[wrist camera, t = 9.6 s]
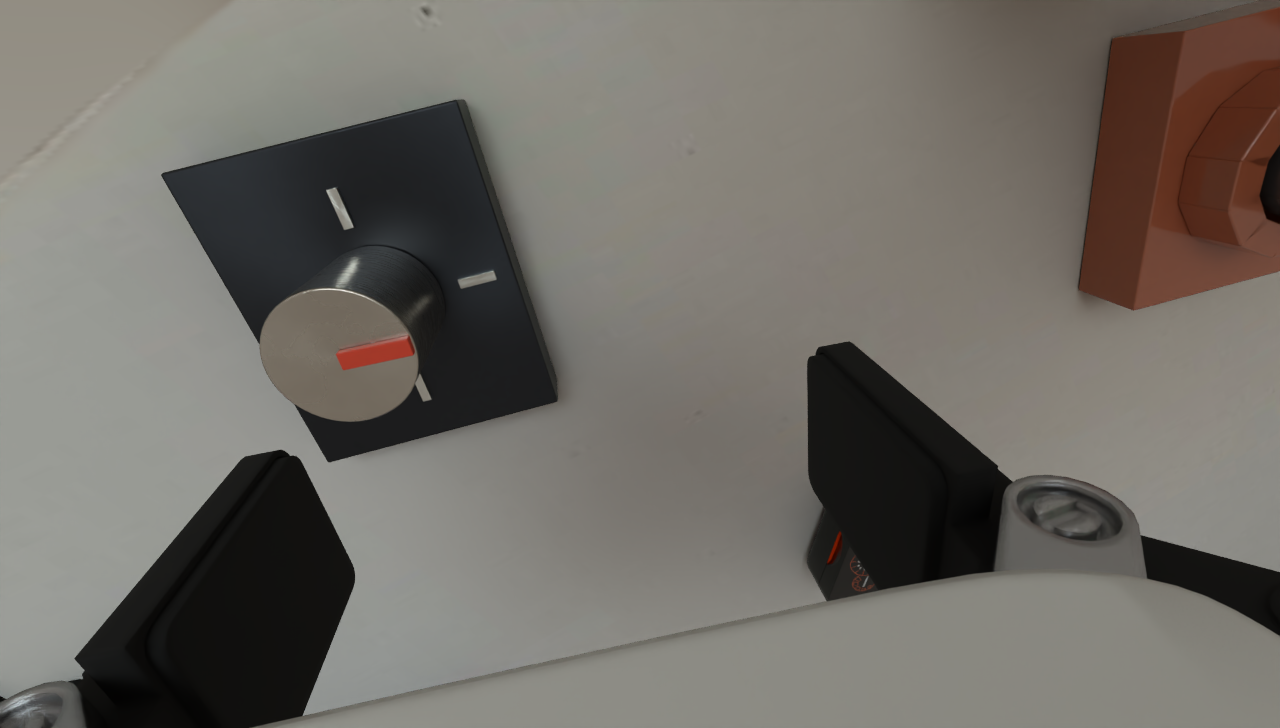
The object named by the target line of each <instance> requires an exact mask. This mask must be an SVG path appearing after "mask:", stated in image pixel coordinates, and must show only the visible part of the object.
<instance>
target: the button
mask: <svg viewBox="0 0 1280 728" xmlns="http://www.w3.org/2000/svg"><path fill="white" fill-rule="evenodd" d="M1260 199H1261V202H1262V205H1263V207H1264V208H1265V209H1266V210H1267V211H1268V212H1269V213H1271V214H1273V215H1275V216H1279V217H1280V146H1279V147H1278V148H1277V150H1276V151H1275V153H1274V154H1273V156H1272V157H1271V159H1270V160H1269V162H1268V165H1267V169H1266V173H1265V177H1264V180H1263V184H1262V188H1261V192H1260Z"/></svg>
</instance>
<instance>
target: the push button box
mask: <svg viewBox="0 0 1280 728" xmlns="http://www.w3.org/2000/svg"><path fill="white" fill-rule="evenodd" d="M1279 146H1280V0H1259V1H1256V2H1252V3H1248V4H1244V5H1240V6H1236V7H1232V8H1228V9H1224V10H1220V11H1216V12H1212V13H1209V14H1205V15H1201V16H1197V17H1193V18H1189V19H1185V20H1181V21H1177V22H1173V23H1169V24H1165V25H1162V26H1158V27H1154V28H1150V29H1146V30H1142V31H1138V32H1134V33H1130V34H1126V35H1122V36H1118V37H1115V38H1113V39H1112V44H1111V52H1110V59H1109V67H1108V74H1107V82H1106V89H1105V96H1104V104H1103V111H1102V119H1101V126H1100V134H1099V141H1098V149H1097V156H1096V164H1095V171H1094V179H1093V186H1092V194H1091V201H1090V208H1089V216H1088V223H1087V231H1086V238H1085V246H1084V253H1083V261H1082V268H1081V276H1080V283H1079V290H1080V291H1083V292H1085V293H1088V294H1091V295H1093V296H1096V297H1099V298H1101V299H1104V300H1107V301H1109V302H1112V303H1115V304H1117V305H1120V306H1123V307H1125V308H1128V309H1131V310H1138V309H1141V308H1145V307H1149V306H1153V305H1156V304H1160V303H1164V302H1167V301H1171V300H1175V299H1178V298H1182V297H1186V296H1190V295H1193V294H1197V293H1201V292H1204V291H1208V290H1212V289H1216V288H1219V287H1223V286H1227V285H1230V284H1234V283H1238V282H1241V281H1245V280H1249V279H1253V278H1256V277H1260V276H1264V275H1267V274H1271V273H1275V272H1278V271H1280V217H1279V216H1275V215H1273V214H1271V213H1269V212H1268V211H1267V210H1266V209H1265V208H1264V207H1263V205H1262V202H1261V199H1260V192H1261V188H1262V184H1263V180H1264V177H1265V173H1266V169H1267V165H1268V162H1269V160H1270V159H1271V157H1272V156H1273V154H1274V153H1275V151H1276V150H1277V148H1278V147H1279Z"/></svg>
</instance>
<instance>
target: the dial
mask: <svg viewBox="0 0 1280 728" xmlns="http://www.w3.org/2000/svg"><path fill="white" fill-rule="evenodd" d="M444 316H445V302H444V297H443V293H442V290H441V288H440V285H439V284H438V282H437V280H436V278H435V277H434V276H433V274H432V273H431V272H430V271H429V270H428V269H427V267H426V266H425V265H423V264H422V263H421V262H420V261H418V260H417V259H415V258H414V257H412V256H411V255H409V254H407V253H405V252H403V251H400V250H397V249H394V248H390V247H384V246H365V247H359V248H356V249H353V250H350V251H348V252H346V253H344V254H343V255H341V256H339V257H338V258H337V259H335V260H334V261H333V262H332V263H330V264H329V265H328V266H326V267H325V268H324V269H323V270H321V271H320V272H319V273H317V274H316V275H315V276H314V277H312V278H311V279H310V280H309V281H307V282H306V283H305V284H303V285H302V286H301V287H300V288H298V289H297V290H296V291H294V292H293V293H292V294H291V295H289V296H288V297H287V298H285V299H284V300H283V301H282V302H280V303H279V304H278V305H277V306H276V307H275V308H274V309H273V310H272V311H271V313H270V314H269V315H268V317H267V319H266V320H265V322H264V325H263V328H262V331H261V336H260V354H261V359H262V363H263V366H264V368H265V371H266V373H267V375H268V377H269V378H270V380H271V381H272V383H273V384H274V385H275V387H276V388H277V389H278V390H279V391H280V392H281V393H282V394H283V395H284V396H285V397H286V398H287V399H288V400H290V401H291V402H292V403H293V404H295V405H297V406H298V407H300V408H301V409H303V410H305V411H307V412H309V413H311V414H314V415H317V416H319V417H322V418H326V419H330V420H336V421H346V422H355V421H364V420H370V419H373V418H377V417H380V416H382V415H384V414H387V413H388V412H390V411H392V410H394V409H395V408H396V407H398V406H399V405H400V404H401V403H402V402H403V401H404V400H405V399H406V398H407V397H408V395H409V394H410V393H411V391H412V389H413V387H414V385H415V383H416V381H417V379H418V377H419V374H420V372H421V370H422V368H423V366H424V364H425V361H426V359H427V357H428V355H429V353H430V351H431V349H432V346H433V344H434V342H435V340H436V338H437V336H438V333H439V331H440V329H441V327H442V324H443V321H444Z"/></svg>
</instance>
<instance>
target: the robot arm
mask: <svg viewBox="0 0 1280 728" xmlns="http://www.w3.org/2000/svg"><path fill="white" fill-rule="evenodd" d="M807 384H808V473H809V479H810V483H811V486H812V488H813V490H814V492H815V494H816V495H817V497H818V498H819V500H820V501H821V503H822V504H823V506H824V508H825V509H826V511H827V512H828V514H829V515H830V517H831V518H832V520H833V521H834V523H835V524H836V526H837V527H838V529H839V531H840V532H841V534H842V535H843V537H844V538H845V540H846V541H847V543H848V544H849V546H850V547H851V549H852V550H853V552H854V554H855V555H856V557H857V558H858V560H859V561H860V563H861V564H862V566H863V567H864V569H865V570H866V572H867V573H868V575H869V577H870V578H871V580H872V581H873V583H874V584H875V586H876V587H877V589H878V590H879V591H875V592H870V593H865V594H861V595H856V596H851V597H846V598H841V599H836V600H831V601H826V602H821V603H816V604H812V605H807V606H802V607H798V608H793V609H788V610H783V611H779V612H774V613H769V614H765V615H760V616H755V617H751V618H746V619H741V620H737V621H732V622H727V623H723V624H718V625H713V626H709V627H704V628H699V629H695V630H690V631H685V632H680V633H676V634H671V635H666V636H662V637H657V638H652V639H648V640H643V641H639V642H634V643H629V644H625V645H620V646H616V647H611V648H606V649H602V650H597V651H593V652H588V653H584V654H579V655H574V656H570V657H565V658H561V659H556V660H552V661H547V662H542V663H538V664H533V665H529V666H524V667H520V668H515V669H511V670H506V671H502V672H497V673H493V674H488V675H484V676H479V677H474V678H470V679H465V680H461V681H456V682H452V683H447V684H443V685H438V686H434V687H429V688H425V689H420V690H416V691H411V692H407V693H403V694H398V695H394V696H389V697H385V698H380V699H376V700H372V701H367V702H363V703H358V704H354V705H349V706H345V707H341V708H336V709H332V710H327V711H323V712H318V713H314V714H310V715H305V716H302V715H303V713H304V710H305V708H306V705H307V703H308V700H309V698H310V695H311V693H312V690H313V688H314V685H315V683H316V680H317V678H318V675H319V673H320V670H321V668H322V665H323V663H324V660H325V658H326V655H327V653H328V650H329V648H330V645H331V643H332V640H333V637H334V635H335V632H336V630H337V627H338V625H339V622H340V620H341V617H342V615H343V612H344V610H345V607H346V605H347V602H348V600H349V597H350V595H351V592H352V590H353V587H354V583H355V571H354V567H353V564H352V562H351V560H350V558H349V556H348V554H347V552H346V550H345V548H344V546H343V544H342V542H341V540H340V538H339V536H338V534H337V532H336V530H335V528H334V526H333V524H332V522H331V520H330V518H329V516H328V514H327V512H326V510H325V508H324V506H323V504H322V502H321V500H320V498H319V496H318V494H317V492H316V490H315V488H314V486H313V484H312V482H311V480H310V478H309V476H308V474H307V472H306V470H305V468H304V466H303V464H302V462H301V460H300V459H299V458H298V457H297V456H290V455H289V454H288V453H287V452H285V451H283V450H277V451H272V452H266V453H261V454H256V455H251V456H246V457H244V458H243V459H242V460H240V462H239V463H238V464H237V465H236V466H235V468H234V469H233V470H232V471H231V472H230V474H229V475H228V476H227V477H226V478H225V480H224V481H223V482H222V483H221V484H220V485H219V487H218V488H217V489H216V490H215V491H214V493H213V494H212V495H211V496H210V497H209V499H208V500H207V501H206V502H205V503H204V505H203V506H202V507H201V508H200V509H199V511H198V512H197V513H196V514H195V515H194V516H193V518H192V519H191V520H190V521H189V522H188V524H187V525H186V526H185V527H184V528H183V530H182V531H181V532H180V533H179V534H178V536H177V537H176V538H175V539H174V540H173V542H172V543H171V544H170V545H169V546H168V548H167V549H166V550H165V551H164V552H163V553H162V555H161V556H160V557H159V558H158V559H157V561H156V562H155V563H154V564H153V565H152V567H151V568H150V569H149V570H148V571H147V573H146V574H145V575H144V576H143V577H142V579H141V580H140V581H139V582H138V583H137V584H136V586H135V587H134V588H133V589H132V590H131V592H130V593H129V594H128V595H127V596H126V598H125V599H124V600H123V601H122V602H121V604H120V605H119V606H118V607H117V608H116V610H115V611H114V612H113V613H112V614H111V616H110V617H109V618H108V619H107V620H106V621H105V623H104V624H103V625H102V626H101V627H100V629H99V630H98V631H97V632H96V633H95V635H94V636H93V637H92V638H91V639H90V641H89V642H88V643H87V644H86V645H85V647H84V648H83V649H82V650H81V651H80V652H79V654H78V655H77V656H76V657H75V658H74V659H75V660H76V661H77V662H78V663H79V664H80V665H81V667H82V668H83V669H84V670H85V671H86V672H87V674H86V675H85V677H84V678H83V679H82V680H81V682H80V683H79V684H78V686H77V687H76V686H75V685H74V683H69V682H65V681H56V682H49V683H43V684H41V685H38V686H35V687H32V688H29V689H27V690H24V691H22V692H20V693H18V694H16V695H14V696H12V697H10V698H8V699H6V700H4V701H2V702H0V728H1280V572H1277V571H1273V570H1269V569H1265V568H1262V567H1258V566H1254V565H1250V564H1247V563H1243V562H1239V561H1235V560H1232V559H1228V558H1224V557H1220V556H1217V555H1213V554H1209V553H1205V552H1202V551H1198V550H1194V549H1190V548H1187V547H1183V546H1179V545H1175V544H1172V543H1168V542H1164V541H1160V540H1157V539H1153V538H1149V537H1145V536H1142V535H1140V529H1139V524H1138V522H1137V520H1136V518H1135V515H1134V513H1133V512H1132V511H1131V510H1130V509H1129V508H1128V507H1127V506H1126V505H1125V504H1124V503H1123V502H1122V501H1121V500H1119V499H1118V498H1116V497H1115V496H1113V495H1112V494H1110V493H1109V492H1107V491H1105V490H1103V489H1101V488H1098V487H1096V486H1094V485H1091V484H1089V483H1087V482H1083V481H1079V480H1076V479H1072V478H1068V477H1061V476H1053V475H1036V476H1028V477H1024V478H1021V479H1017V480H1015V481H1014V482H1012V481H1011V480H1010V479H1009V478H1008V477H1006V476H1005V475H1004V474H1003V473H1002V472H1000V471H999V470H998V466H997V465H996V464H995V463H994V462H993V461H991V460H990V459H989V458H988V457H987V456H985V455H984V454H983V453H982V452H981V451H980V450H978V449H977V448H976V447H975V446H974V445H972V444H971V443H970V442H969V441H968V440H967V439H965V438H964V437H963V436H962V435H961V434H959V433H958V432H957V431H956V430H955V429H953V428H952V427H951V426H950V425H949V424H948V423H946V422H945V421H944V420H943V419H942V418H940V417H939V416H938V415H937V414H936V413H935V412H933V411H932V410H931V409H930V408H929V407H927V406H926V405H925V404H924V403H923V402H921V401H920V400H919V399H918V398H917V397H916V396H914V395H913V394H912V393H911V392H910V391H908V390H907V389H906V388H905V387H904V386H903V385H901V384H900V383H899V382H898V381H897V380H895V379H894V378H893V377H892V376H891V375H890V374H888V373H887V372H886V371H885V370H884V369H882V368H881V367H880V366H879V365H878V364H876V363H875V362H874V361H873V360H872V359H871V358H869V357H868V356H867V355H866V354H865V353H863V352H862V351H861V350H860V349H859V348H858V347H856V346H855V345H854V344H853V343H851V342H843V343H838V344H833V345H828V346H822V347H819V348H818V349H817V351H816V355H815V356H810V357H809V358H808V363H807Z"/></svg>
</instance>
